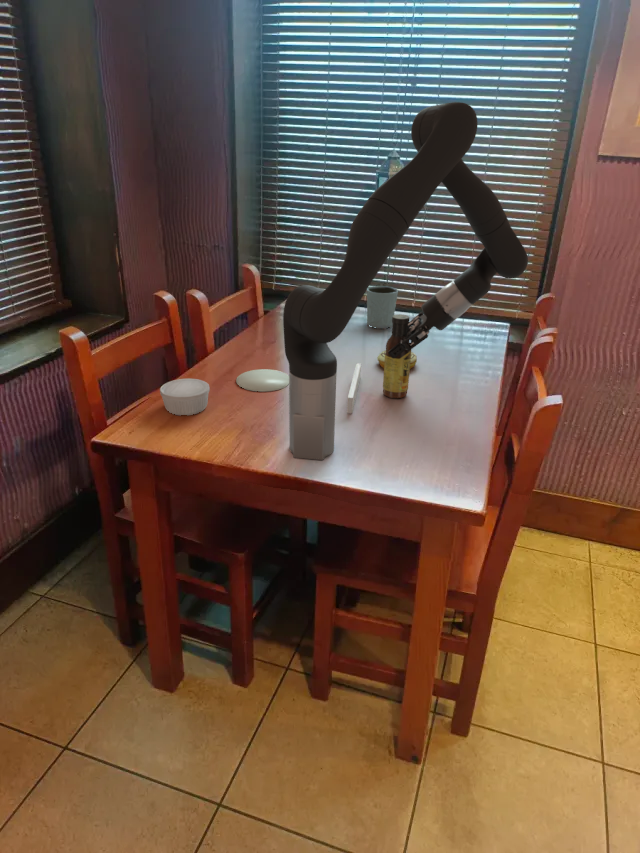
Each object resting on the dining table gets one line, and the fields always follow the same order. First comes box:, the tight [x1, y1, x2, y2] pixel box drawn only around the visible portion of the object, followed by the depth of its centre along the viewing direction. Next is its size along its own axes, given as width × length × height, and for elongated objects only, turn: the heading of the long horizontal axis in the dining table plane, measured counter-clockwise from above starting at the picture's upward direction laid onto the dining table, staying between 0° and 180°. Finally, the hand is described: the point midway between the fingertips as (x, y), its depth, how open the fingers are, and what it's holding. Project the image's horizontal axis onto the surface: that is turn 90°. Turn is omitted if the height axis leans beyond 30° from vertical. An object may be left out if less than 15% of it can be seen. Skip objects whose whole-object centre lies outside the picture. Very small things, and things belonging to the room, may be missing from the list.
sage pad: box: [236, 368, 289, 393], centre depth 155 cm, size 14×14×1 cm
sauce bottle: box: [382, 314, 412, 399], centre depth 144 cm, size 6×6×20 cm
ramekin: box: [159, 378, 211, 416], centre depth 139 cm, size 11×11×5 cm
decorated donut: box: [376, 349, 418, 370], centre depth 166 cm, size 10×11×4 cm
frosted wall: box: [346, 362, 362, 415], centre depth 147 cm, size 22×1×4 cm, turn 172°
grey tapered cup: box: [366, 285, 399, 329], centre depth 196 cm, size 10×10×12 cm
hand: (391, 350), depth 144 cm, fingers closed on sauce bottle, 6 cm apart
